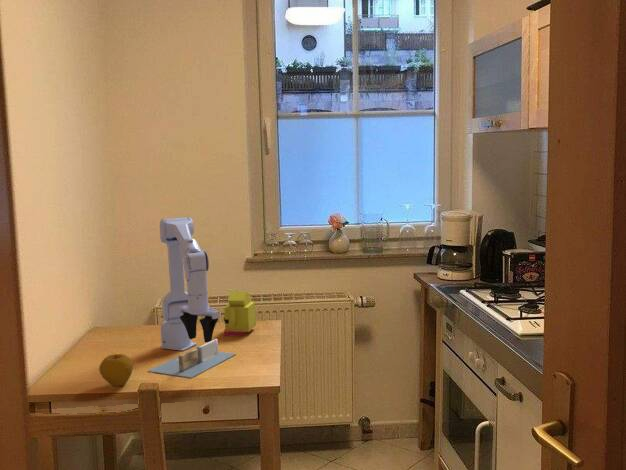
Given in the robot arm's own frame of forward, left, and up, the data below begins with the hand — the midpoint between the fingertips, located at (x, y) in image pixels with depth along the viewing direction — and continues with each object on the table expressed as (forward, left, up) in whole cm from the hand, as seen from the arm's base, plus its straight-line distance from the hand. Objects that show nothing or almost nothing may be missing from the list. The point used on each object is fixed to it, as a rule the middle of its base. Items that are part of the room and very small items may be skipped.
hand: (200, 339), depth 187 cm
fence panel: (-6, +2, -9) cm, 11 cm away
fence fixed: (-6, +11, -10) cm, 16 cm away
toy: (-13, +41, -10) cm, 44 cm away
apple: (-16, -17, -10) cm, 26 cm away
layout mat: (-8, +7, -10) cm, 14 cm away
